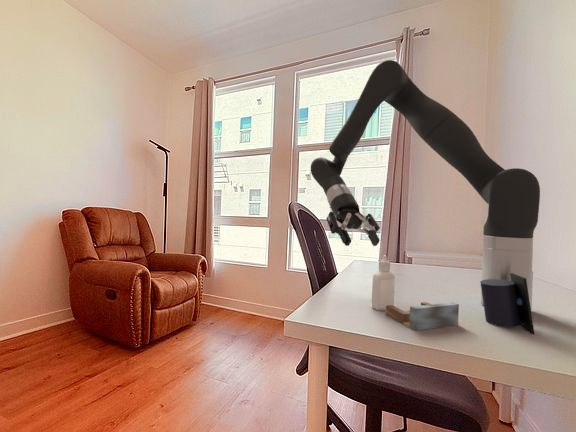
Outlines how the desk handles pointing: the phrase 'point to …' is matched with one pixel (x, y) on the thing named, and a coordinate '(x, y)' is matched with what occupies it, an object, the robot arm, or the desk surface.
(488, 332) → the desk surface
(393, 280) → the eye dropper bottle
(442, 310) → the grey brown angular piece
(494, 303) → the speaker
